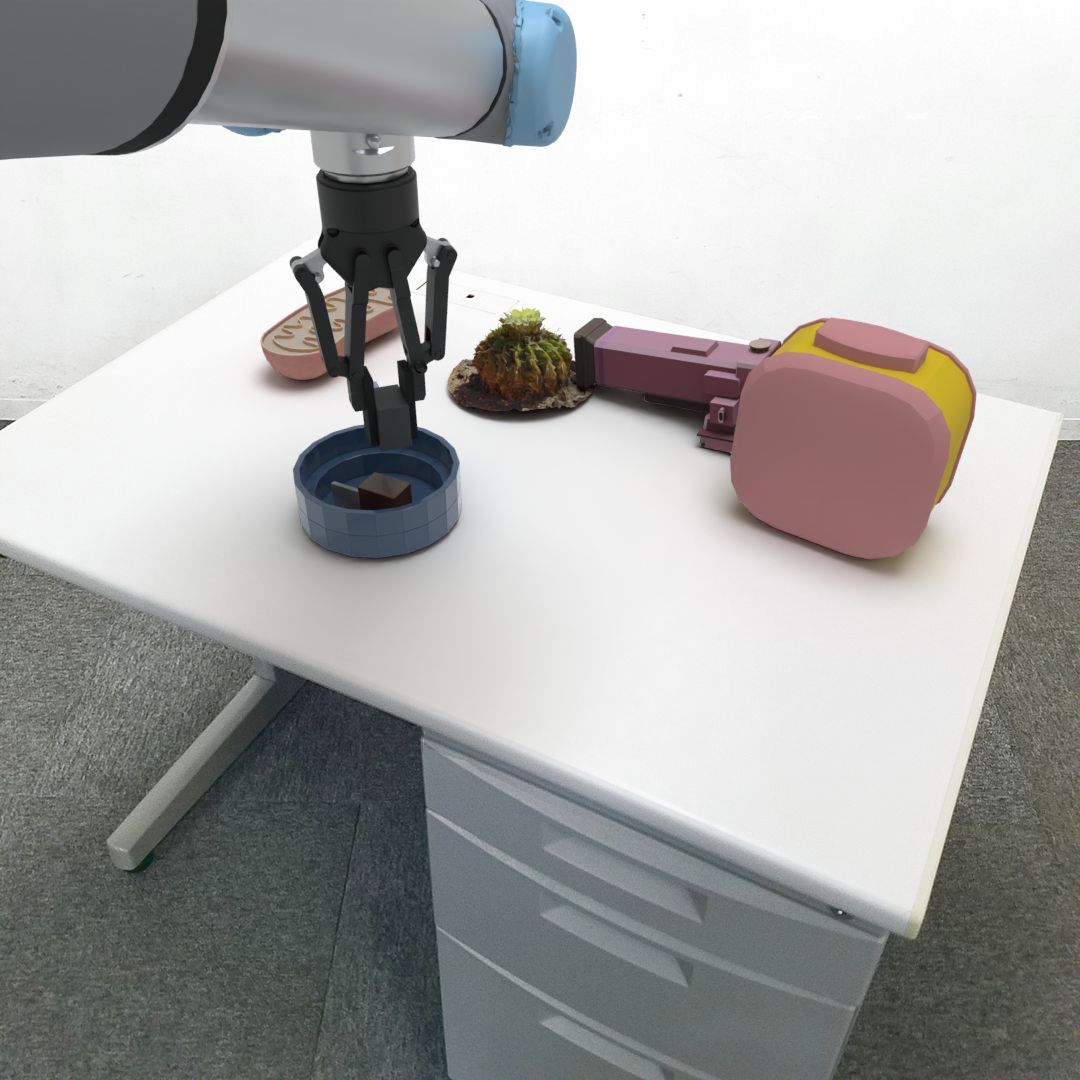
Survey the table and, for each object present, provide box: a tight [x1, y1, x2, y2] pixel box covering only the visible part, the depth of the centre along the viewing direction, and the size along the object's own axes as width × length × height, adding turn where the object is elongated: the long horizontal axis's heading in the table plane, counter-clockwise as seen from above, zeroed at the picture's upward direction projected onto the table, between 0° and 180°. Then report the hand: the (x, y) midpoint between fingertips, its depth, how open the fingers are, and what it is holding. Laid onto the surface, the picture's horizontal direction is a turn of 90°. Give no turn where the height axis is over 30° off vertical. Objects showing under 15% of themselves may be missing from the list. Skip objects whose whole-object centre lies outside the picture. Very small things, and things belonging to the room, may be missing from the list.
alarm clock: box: [729, 317, 977, 560], centre depth 87 cm, size 18×11×19 cm, turn 56°
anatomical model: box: [259, 286, 398, 381], centre depth 117 cm, size 23×10×5 cm, turn 151°
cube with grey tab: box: [373, 380, 412, 451], centre depth 87 cm, size 8×3×4 cm, turn 21°
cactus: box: [447, 307, 595, 412], centre depth 110 cm, size 17×16×10 cm
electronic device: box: [573, 317, 782, 454], centre depth 105 cm, size 11×27×10 cm, turn 59°
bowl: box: [292, 424, 462, 559], centre depth 91 cm, size 15×15×6 cm
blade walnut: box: [331, 472, 412, 510], centre depth 90 cm, size 8×3×4 cm, turn 64°
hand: (391, 434), depth 87 cm, fingers closed on cube with grey tab, 3 cm apart
